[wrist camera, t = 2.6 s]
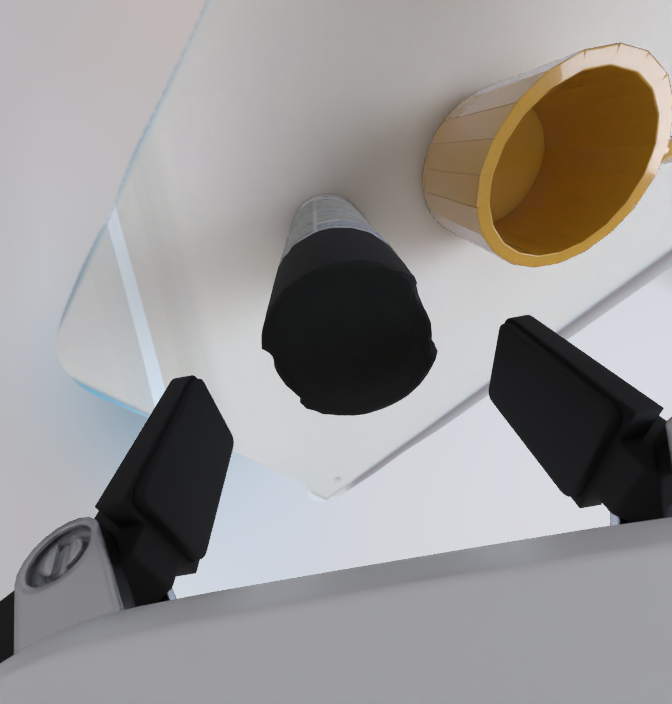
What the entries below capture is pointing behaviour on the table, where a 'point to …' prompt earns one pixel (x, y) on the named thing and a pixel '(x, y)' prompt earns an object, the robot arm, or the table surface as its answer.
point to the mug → (552, 154)
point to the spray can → (345, 314)
